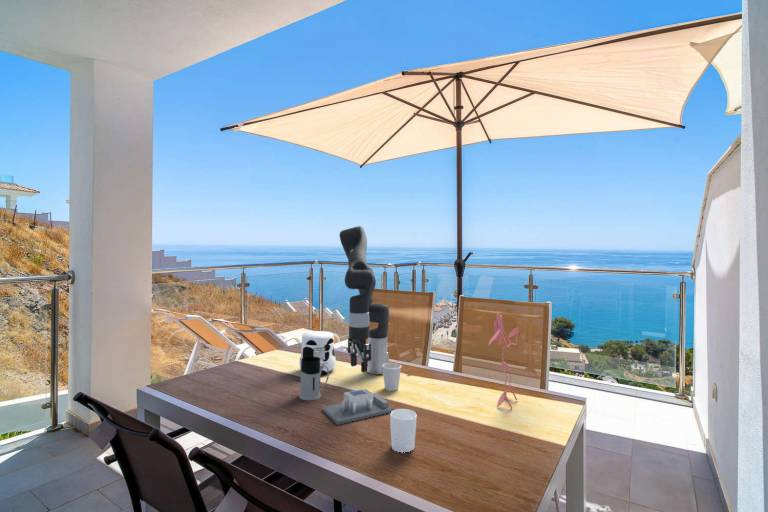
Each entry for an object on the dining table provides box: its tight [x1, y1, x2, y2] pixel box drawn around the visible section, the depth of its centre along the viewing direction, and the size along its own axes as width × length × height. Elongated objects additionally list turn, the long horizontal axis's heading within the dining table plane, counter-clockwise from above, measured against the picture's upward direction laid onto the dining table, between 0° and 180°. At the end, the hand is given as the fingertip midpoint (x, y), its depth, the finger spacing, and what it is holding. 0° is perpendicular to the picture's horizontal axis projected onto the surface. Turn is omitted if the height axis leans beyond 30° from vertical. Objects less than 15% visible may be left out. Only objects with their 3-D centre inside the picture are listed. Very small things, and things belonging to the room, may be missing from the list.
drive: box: [343, 388, 373, 413], centre depth 140 cm, size 9×5×6 cm, turn 120°
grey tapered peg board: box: [321, 392, 395, 426], centre depth 140 cm, size 22×14×5 cm, turn 120°
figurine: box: [488, 312, 520, 409], centre depth 151 cm, size 15×26×35 cm, turn 149°
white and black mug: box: [298, 357, 330, 401], centre depth 152 cm, size 9×14×15 cm, turn 55°
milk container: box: [299, 330, 337, 375], centre depth 186 cm, size 17×17×18 cm
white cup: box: [389, 408, 417, 454], centre depth 114 cm, size 8×8×10 cm
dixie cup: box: [382, 362, 403, 392], centre depth 163 cm, size 8×8×10 cm
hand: (358, 368), depth 140 cm, fingers open, 8 cm apart
